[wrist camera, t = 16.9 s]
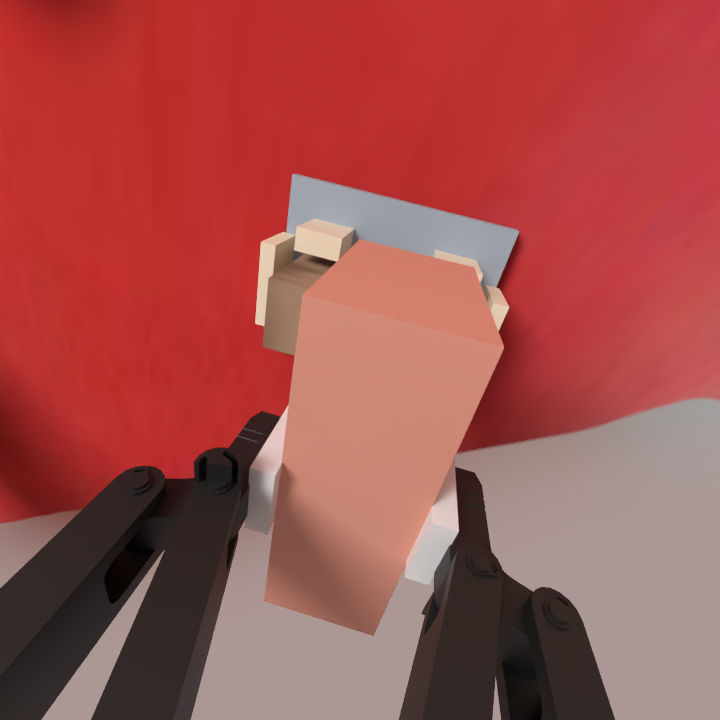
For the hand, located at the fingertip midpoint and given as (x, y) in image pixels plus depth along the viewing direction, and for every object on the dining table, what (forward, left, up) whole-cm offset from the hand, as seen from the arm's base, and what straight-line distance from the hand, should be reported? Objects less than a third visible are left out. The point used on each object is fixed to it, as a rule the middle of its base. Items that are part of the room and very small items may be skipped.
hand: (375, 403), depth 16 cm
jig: (-2, 0, -15) cm, 15 cm away
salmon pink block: (0, 0, -1) cm, 1 cm away
